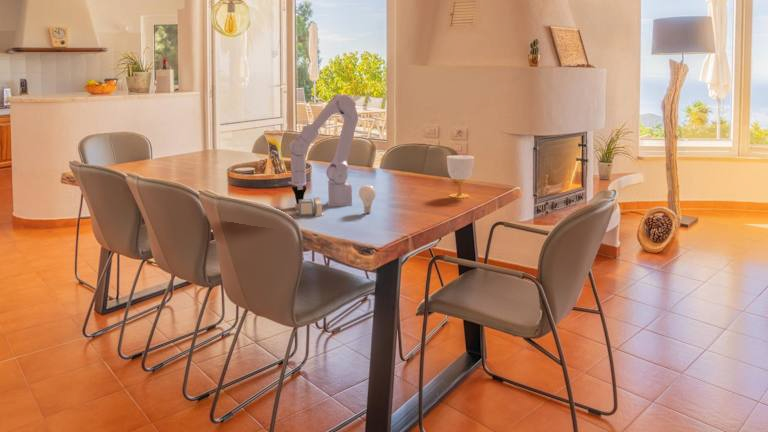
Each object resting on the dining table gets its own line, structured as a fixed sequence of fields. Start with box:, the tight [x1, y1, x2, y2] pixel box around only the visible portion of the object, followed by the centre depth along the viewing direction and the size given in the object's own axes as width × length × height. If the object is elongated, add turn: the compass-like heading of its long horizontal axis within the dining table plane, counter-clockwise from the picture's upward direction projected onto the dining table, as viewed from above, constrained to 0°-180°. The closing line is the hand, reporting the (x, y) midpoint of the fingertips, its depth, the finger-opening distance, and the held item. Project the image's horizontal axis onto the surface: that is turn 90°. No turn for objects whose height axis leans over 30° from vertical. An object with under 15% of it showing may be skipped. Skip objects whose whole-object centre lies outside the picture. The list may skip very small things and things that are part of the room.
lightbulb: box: [358, 184, 377, 215], centre depth 241 cm, size 6×6×11 cm
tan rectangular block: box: [313, 197, 325, 217], centre depth 242 cm, size 3×12×5 cm, turn 12°
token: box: [294, 203, 299, 211], centre depth 248 cm, size 4×4×2 cm
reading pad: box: [297, 212, 314, 218], centre depth 240 cm, size 5×6×1 cm
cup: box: [446, 154, 475, 199], centre depth 273 cm, size 12×12×17 cm
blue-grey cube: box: [298, 198, 314, 215], centre depth 239 cm, size 5×5×5 cm
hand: (299, 204), depth 253 cm, fingers closed
